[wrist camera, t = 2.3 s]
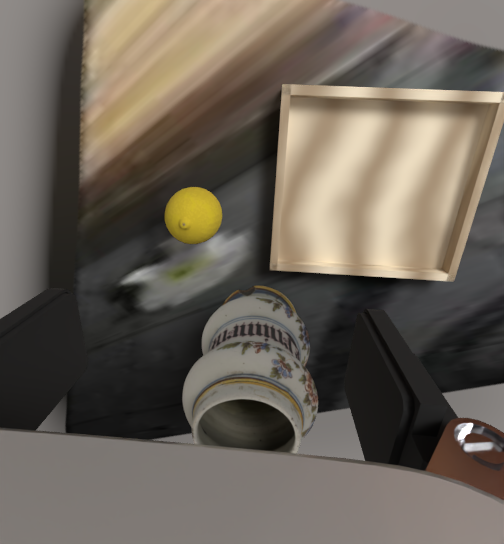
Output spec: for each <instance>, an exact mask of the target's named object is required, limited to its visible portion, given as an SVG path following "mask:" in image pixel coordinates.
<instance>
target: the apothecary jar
mask: <svg viewBox="0 0 504 544" xmlns="http://www.w3.org/2000/svg"><path fill="white" fill-rule="evenodd" d="M309 350H310V341H309V335H308V332H307V329H306V327H305V325H304V323H303V321H302V320H301V319H300V317H299V316H298V315H297V314H296V311H295V309H294V307H293V305H292V303H291V302H290V300H289V299H288V298H287V297H286V296H285V295H284V294H282V293H280V292H279V291H277V290H275V289H273V288H270V287H265V286H253V287H252V288H250V289H248V290H246V291H242V290H237V291H236V292H234V293H233V294H231V295H230V296H229V297H228V298H227V299H226V301H225V302H224V304H223V306H221V307H220V308H219V309H218V310H217V311H216V312H215V313H214V314H213V315H212V316H211V317H210V319H209V320H208V322H207V324H206V326H205V328H204V331H203V335H202V352H203V356H202V357H201V358H200V359H199V360H198V361H197V362H196V363H195V364H194V365H193V367H192V368H191V370H190V371H189V373H188V375H187V377H186V380H185V383H184V387H183V396H182V399H183V407H184V411H185V415H186V417H187V420H188V422H189V424H190V425H191V427H192V437H193V441H194V444H199V445H210V446H220V447H231V448H242V449H253V450H264V451H274V452H285V453H296V454H297V452H298V449H299V446H300V442H301V441H302V439H303V438H304V437H305V436H306V435H307V434H308V432H309V431H310V429H311V428H312V426H313V423H314V421H315V418H316V414H317V409H318V396H317V391H316V387H315V384H314V382H313V379H312V377H311V375H310V374H309V372H308V370H307V369H306V368H305V365H306V363H307V360H308V356H309Z"/></svg>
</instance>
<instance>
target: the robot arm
mask: <svg viewBox="0 0 504 544" xmlns="http://www.w3.org/2000/svg"><path fill="white" fill-rule="evenodd" d="M87 365H88V357H87V352H86V347H85V341H84V336H83V331H82V326H81V321H80V315H79V310H78V305H77V300H76V296H75V295H74V294H72V293H71V292H70V290H68V289H55V288H49V289H47V290H45V291H43V292H42V293H40V294H39V295H37V296H36V297H34V298H32V299H31V300H29V301H28V302H26V303H25V304H23V305H22V306H20V307H18V308H17V309H15V310H14V311H12V312H11V313H9V314H8V315H6V316H4V317H3V318H1V319H0V544H504V433H503V432H501V431H500V430H498V429H496V428H495V427H493V426H491V425H489V424H486V423H484V422H481V421H479V420H475V419H470V418H458V417H457V415H456V414H455V412H454V411H453V409H452V408H451V407H450V405H449V404H448V402H447V400H446V399H445V398H444V396H443V395H442V393H441V392H440V390H439V389H438V387H437V386H436V384H435V383H434V381H433V380H432V378H431V377H430V375H429V374H428V372H427V371H426V369H425V368H424V366H423V365H422V363H421V362H420V360H419V359H418V357H417V356H416V355H415V354H413V353H412V351H411V350H410V348H409V347H408V345H407V344H406V342H405V341H404V339H403V338H402V336H401V335H400V333H399V332H398V330H397V329H396V327H395V326H394V324H393V323H392V321H391V320H390V318H389V317H388V315H387V314H386V312H385V311H384V310H372V309H365V310H364V312H363V313H358V315H357V318H356V324H355V329H354V334H353V339H352V344H351V349H350V355H349V360H348V365H347V370H346V375H345V383H344V385H345V392H346V396H347V399H348V403H349V406H350V409H351V413H352V416H353V420H354V423H355V427H356V430H357V433H358V437H359V441H360V444H361V448H362V451H363V454H364V458H365V461H361V460H353V459H346V458H335V457H325V456H315V455H305V454H296V453H285V452H274V451H264V450H253V449H242V448H231V447H220V446H210V445H199V444H188V443H175V442H164V441H154V440H142V439H131V438H119V437H107V436H96V435H84V434H72V433H60V432H46V431H36V429H37V428H38V427H39V426H40V424H41V423H42V422H43V421H44V420H45V419H46V417H47V416H48V415H49V414H50V413H51V411H52V410H53V409H54V408H55V406H56V405H57V404H58V403H59V402H60V400H61V399H62V398H63V397H64V396H65V394H66V393H67V392H68V391H69V390H70V388H71V387H72V386H73V385H74V384H75V382H76V381H77V380H78V379H79V378H80V376H81V375H82V374H83V373H84V372H85V370H86V368H87Z"/></svg>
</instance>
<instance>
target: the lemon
mask: <svg viewBox="0 0 504 544" xmlns="http://www.w3.org/2000/svg"><path fill="white" fill-rule="evenodd" d="M221 220H222V209H221V206H220V203H219V202H218V200H217V198H216V197H215V196H214V195H213V194H212V193H211V192H209V191H207V190H206V189H202V188H199V187H189V188H184V189H182V190H180V191H178V192H177V193H176V194H175V195H174V196H172V197H171V199H170V200H169V202H168V204H167V206H166V210H165V223H166V226H167V228H168V230H169V232H170V233H171V234H172V235H173V237H175V238H176V239H177V240H179V241H181V242H183V243H187V244H199V243H202V242H205V241H207V240H208V239H210V238H211V237H213V236H214V234H215V233H216V232H217V231H218V229H219V227H220V225H221Z"/></svg>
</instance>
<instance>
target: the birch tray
mask: <svg viewBox="0 0 504 544" xmlns="http://www.w3.org/2000/svg"><path fill="white" fill-rule="evenodd" d="M503 122H504V92H482V91H455V90H427V89H399V88H372V87H344V86H316V85H289V84H282V93H281V108H280V123H279V138H278V152H277V167H276V182H275V197H274V212H273V227H272V241H271V256H270V270H278V271H294V272H310V273H326V274H342V275H358V276H374V277H390V278H406V279H422V280H438V281H454V279H455V276H456V273H457V270H458V266H459V263H460V260H461V257H462V253H463V250H464V247H465V244H466V241H467V237H468V234H469V231H470V228H471V225H472V221H473V218H474V215H475V212H476V209H477V205H478V202H479V199H480V196H481V193H482V189H483V186H484V183H485V180H486V177H487V173H488V170H489V167H490V164H491V161H492V157H493V154H494V151H495V148H496V144H497V141H498V138H499V135H500V132H501V128H502V125H503Z"/></svg>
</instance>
